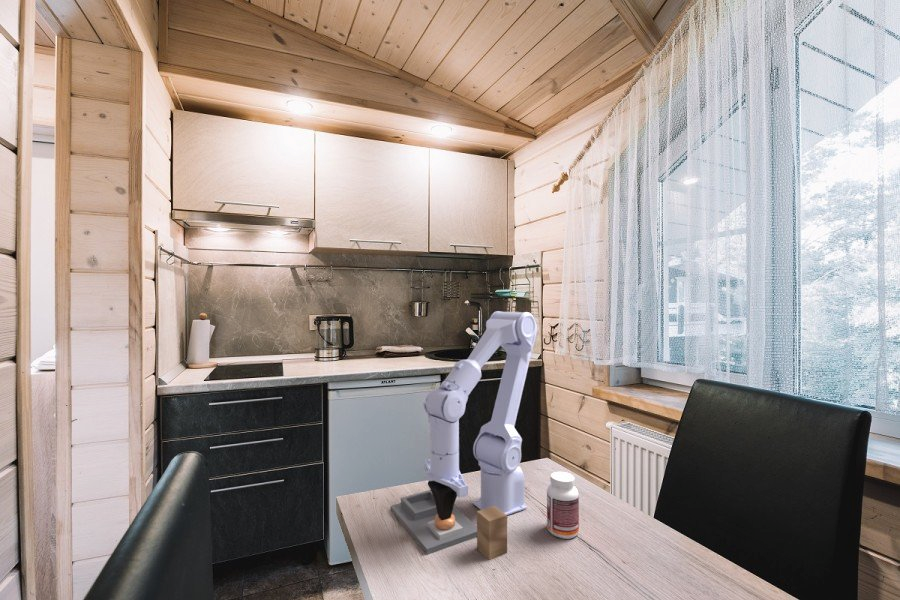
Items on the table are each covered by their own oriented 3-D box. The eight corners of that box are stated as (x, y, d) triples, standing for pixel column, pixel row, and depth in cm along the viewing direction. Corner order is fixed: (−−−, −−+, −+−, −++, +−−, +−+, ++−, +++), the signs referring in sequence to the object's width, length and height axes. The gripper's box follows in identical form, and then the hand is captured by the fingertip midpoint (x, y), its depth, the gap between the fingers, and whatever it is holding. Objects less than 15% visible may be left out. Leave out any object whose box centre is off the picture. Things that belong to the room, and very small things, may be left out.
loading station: (438, 496, 97) (438, 486, 97) (481, 535, 81) (481, 522, 81) (390, 510, 91) (390, 499, 91) (427, 554, 75) (426, 540, 75)
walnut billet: (494, 541, 79) (494, 505, 79) (507, 553, 76) (507, 515, 76) (477, 548, 77) (476, 511, 77) (489, 560, 74) (489, 521, 74)
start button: (448, 516, 85) (448, 510, 85) (458, 525, 81) (458, 519, 81) (431, 521, 83) (431, 515, 83) (440, 531, 79) (440, 525, 79)
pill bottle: (585, 533, 82) (585, 478, 82) (564, 543, 78) (564, 486, 78) (561, 519, 87) (561, 467, 87) (540, 528, 84) (540, 474, 84)
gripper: (410, 442, 86) (411, 506, 86) (444, 467, 73) (445, 542, 73) (440, 436, 89) (440, 498, 90) (477, 459, 77) (477, 531, 77)
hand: (444, 517), depth 82 cm, fingers closed, pressing on start button
